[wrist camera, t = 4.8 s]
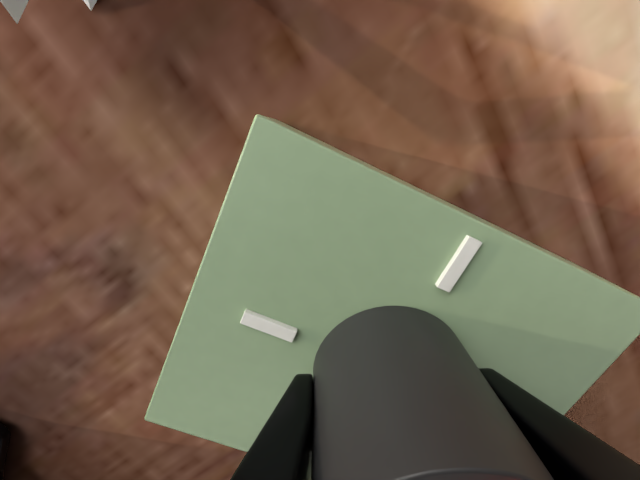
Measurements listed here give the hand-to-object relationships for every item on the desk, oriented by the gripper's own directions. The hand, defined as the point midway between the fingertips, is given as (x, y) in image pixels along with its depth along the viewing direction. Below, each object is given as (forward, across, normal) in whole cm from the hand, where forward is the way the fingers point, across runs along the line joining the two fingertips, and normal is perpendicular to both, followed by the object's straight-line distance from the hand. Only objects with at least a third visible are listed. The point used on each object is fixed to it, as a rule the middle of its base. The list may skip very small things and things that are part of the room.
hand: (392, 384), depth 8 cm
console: (+4, 0, 0) cm, 4 cm away
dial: (0, 0, 0) cm, 0 cm away
